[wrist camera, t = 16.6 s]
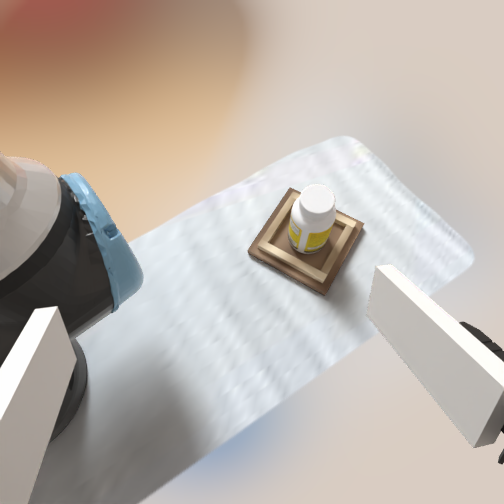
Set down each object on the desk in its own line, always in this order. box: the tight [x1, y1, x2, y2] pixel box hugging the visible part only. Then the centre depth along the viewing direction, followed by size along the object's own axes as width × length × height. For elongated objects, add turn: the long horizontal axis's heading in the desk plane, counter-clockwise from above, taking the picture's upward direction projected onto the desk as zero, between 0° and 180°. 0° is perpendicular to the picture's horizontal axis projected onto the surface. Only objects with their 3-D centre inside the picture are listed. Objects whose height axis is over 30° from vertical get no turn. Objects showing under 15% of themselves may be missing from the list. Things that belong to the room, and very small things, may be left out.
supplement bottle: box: [288, 184, 336, 254], centre depth 41 cm, size 5×5×10 cm
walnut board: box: [248, 188, 364, 296], centre depth 46 cm, size 12×12×2 cm
